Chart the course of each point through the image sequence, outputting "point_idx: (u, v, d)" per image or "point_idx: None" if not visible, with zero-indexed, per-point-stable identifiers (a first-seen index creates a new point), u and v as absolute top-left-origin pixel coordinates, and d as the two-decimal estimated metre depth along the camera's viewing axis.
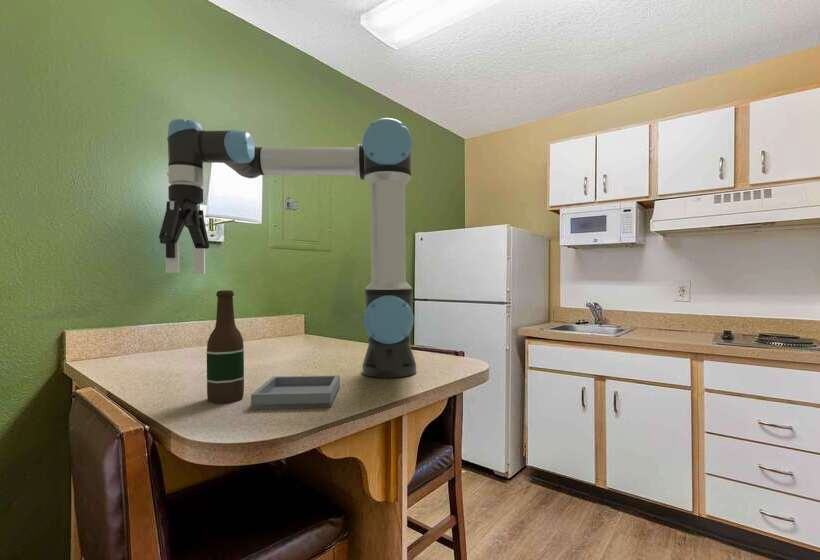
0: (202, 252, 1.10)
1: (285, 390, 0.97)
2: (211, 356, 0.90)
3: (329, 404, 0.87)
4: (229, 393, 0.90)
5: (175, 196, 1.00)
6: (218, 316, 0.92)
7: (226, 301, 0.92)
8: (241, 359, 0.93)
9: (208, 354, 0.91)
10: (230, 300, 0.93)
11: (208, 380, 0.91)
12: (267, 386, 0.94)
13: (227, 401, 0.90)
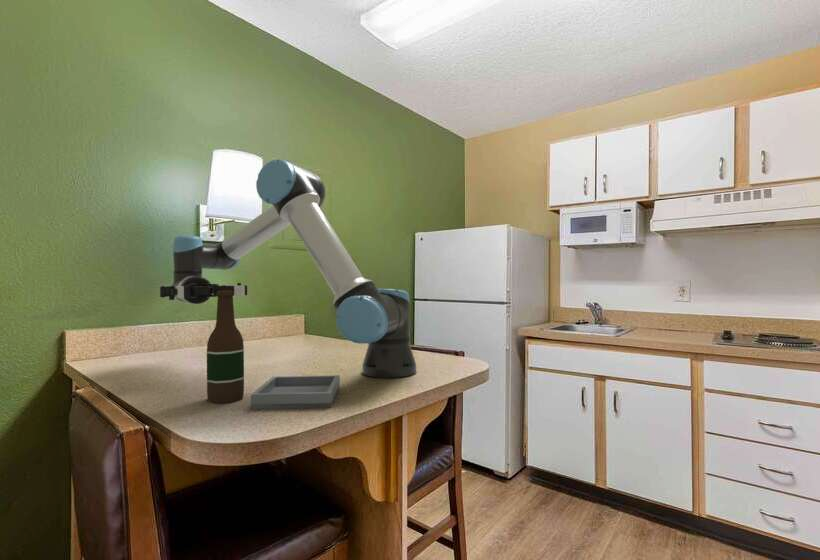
0: (235, 286, 1.09)
1: (285, 390, 0.97)
2: (211, 356, 0.90)
3: (329, 404, 0.87)
4: (229, 393, 0.90)
5: None
6: (218, 316, 0.92)
7: (226, 301, 0.92)
8: (241, 359, 0.93)
9: (208, 354, 0.91)
10: (230, 300, 0.93)
11: (208, 380, 0.91)
12: (267, 386, 0.94)
13: (227, 401, 0.90)
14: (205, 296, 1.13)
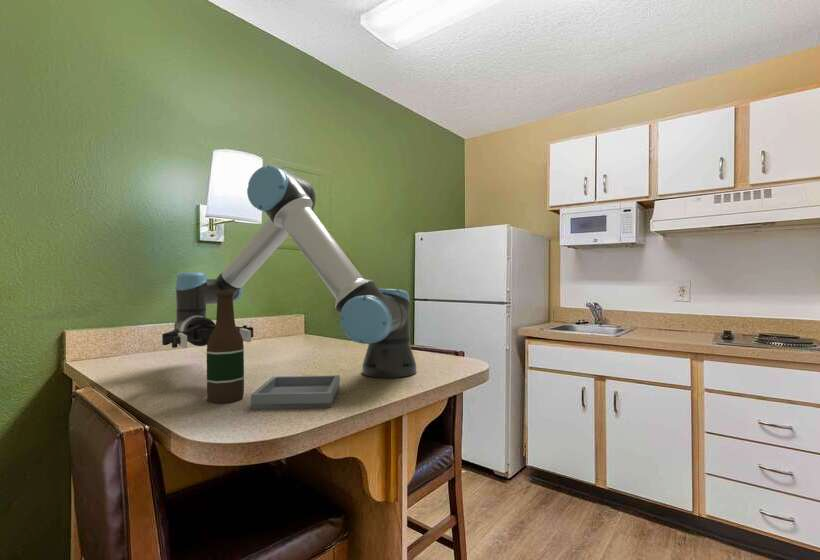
0: (241, 330, 1.04)
1: (285, 390, 0.97)
2: (211, 356, 0.90)
3: (329, 404, 0.87)
4: (229, 393, 0.90)
5: None
6: (217, 316, 0.92)
7: (226, 301, 0.92)
8: (241, 359, 0.93)
9: (208, 354, 0.91)
10: (230, 300, 0.93)
11: (208, 380, 0.91)
12: (267, 386, 0.94)
13: (227, 401, 0.90)
14: None
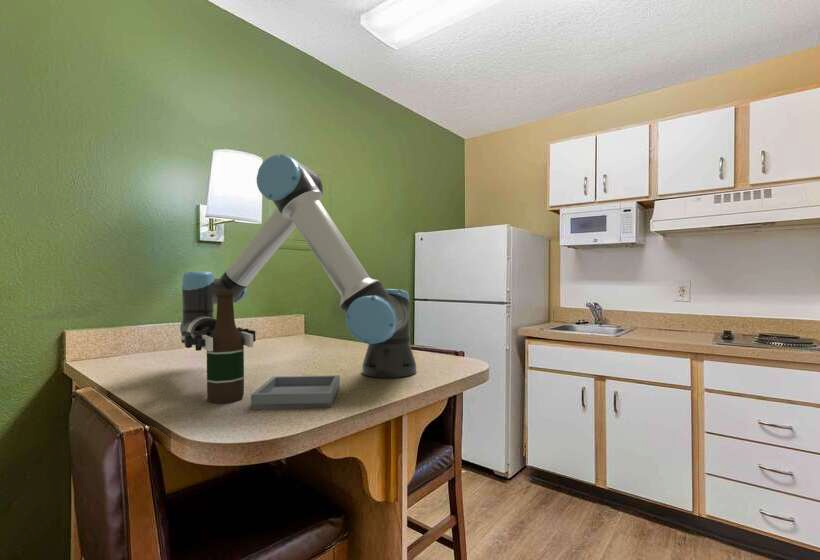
0: (242, 334, 0.96)
1: (285, 390, 0.97)
2: (211, 356, 0.90)
3: (329, 404, 0.87)
4: (229, 393, 0.90)
5: None
6: (218, 316, 0.92)
7: (226, 301, 0.92)
8: (241, 359, 0.93)
9: (208, 354, 0.91)
10: (230, 300, 0.93)
11: (208, 380, 0.91)
12: (267, 386, 0.94)
13: (227, 401, 0.90)
14: None
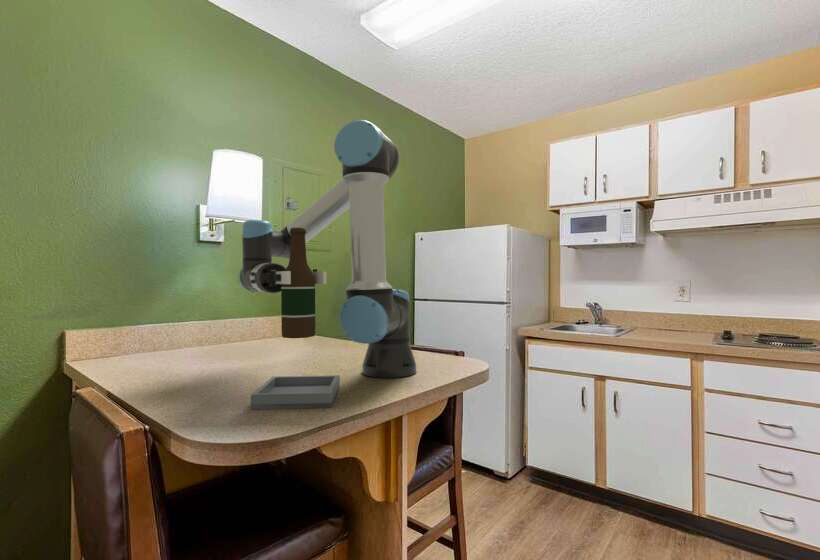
0: None
1: (285, 390, 0.97)
2: (287, 291, 0.91)
3: (329, 404, 0.87)
4: (303, 328, 0.91)
5: None
6: (291, 253, 0.93)
7: (300, 238, 0.93)
8: (314, 296, 0.94)
9: (283, 289, 0.92)
10: (303, 237, 0.94)
11: (283, 315, 0.92)
12: (267, 386, 0.94)
13: (302, 336, 0.91)
14: None
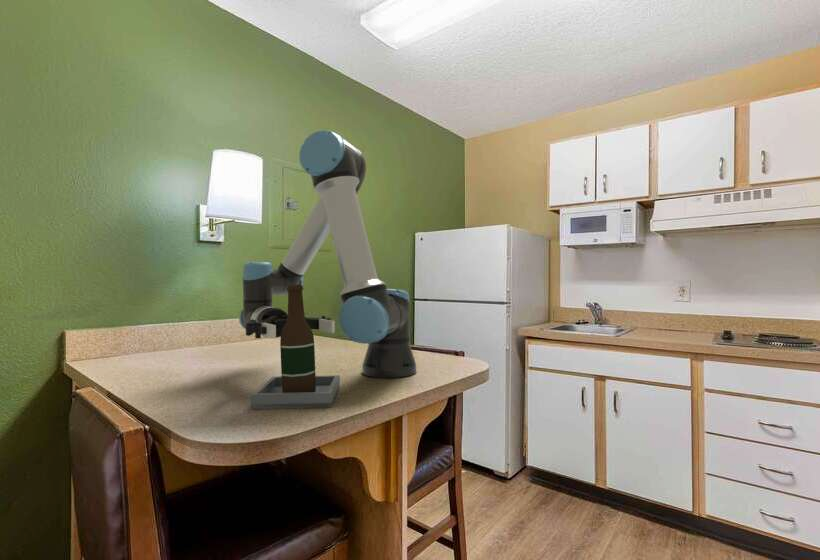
0: (321, 320, 1.00)
1: None
2: (286, 350, 0.91)
3: (329, 404, 0.87)
4: (304, 386, 0.91)
5: None
6: (289, 311, 0.93)
7: (297, 295, 0.93)
8: (313, 352, 0.94)
9: (282, 348, 0.91)
10: (300, 294, 0.93)
11: (283, 374, 0.92)
12: (267, 386, 0.94)
13: None
14: None
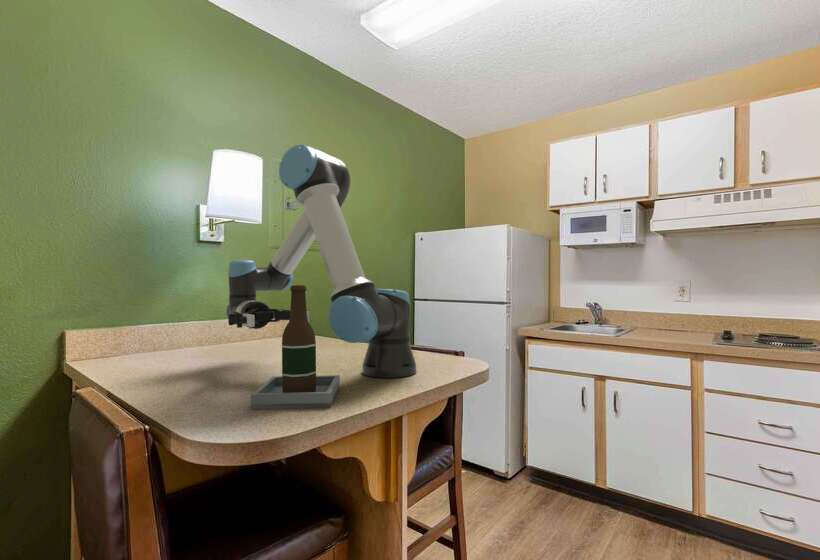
0: None
1: None
2: (287, 350, 0.91)
3: (329, 404, 0.87)
4: (304, 387, 0.91)
5: None
6: (292, 311, 0.93)
7: (300, 296, 0.93)
8: (314, 353, 0.94)
9: (283, 348, 0.92)
10: (303, 295, 0.94)
11: (283, 374, 0.92)
12: (267, 386, 0.94)
13: None
14: (266, 321, 1.14)
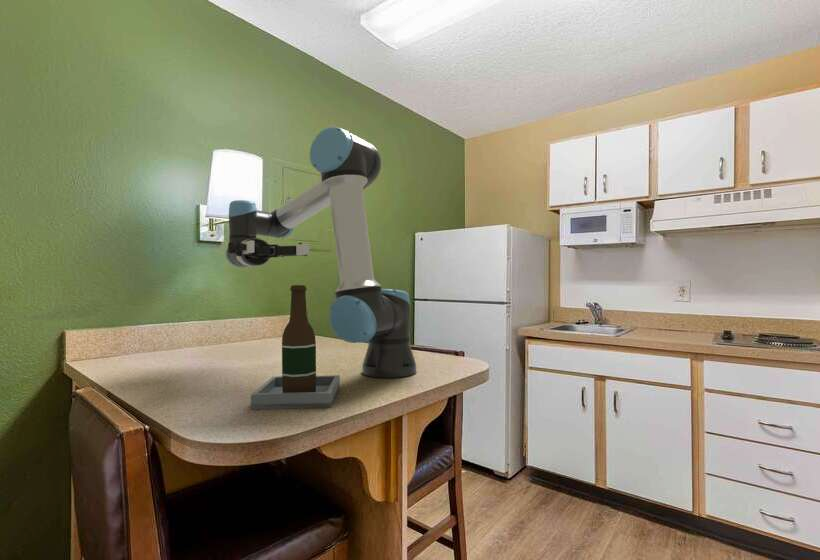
0: (297, 246, 1.10)
1: None
2: (287, 350, 0.91)
3: (329, 404, 0.87)
4: (304, 387, 0.91)
5: (243, 253, 1.14)
6: (292, 311, 0.93)
7: (300, 296, 0.93)
8: (314, 353, 0.94)
9: (283, 348, 0.92)
10: (304, 295, 0.94)
11: (283, 374, 0.92)
12: (267, 386, 0.94)
13: None
14: (266, 257, 1.14)
